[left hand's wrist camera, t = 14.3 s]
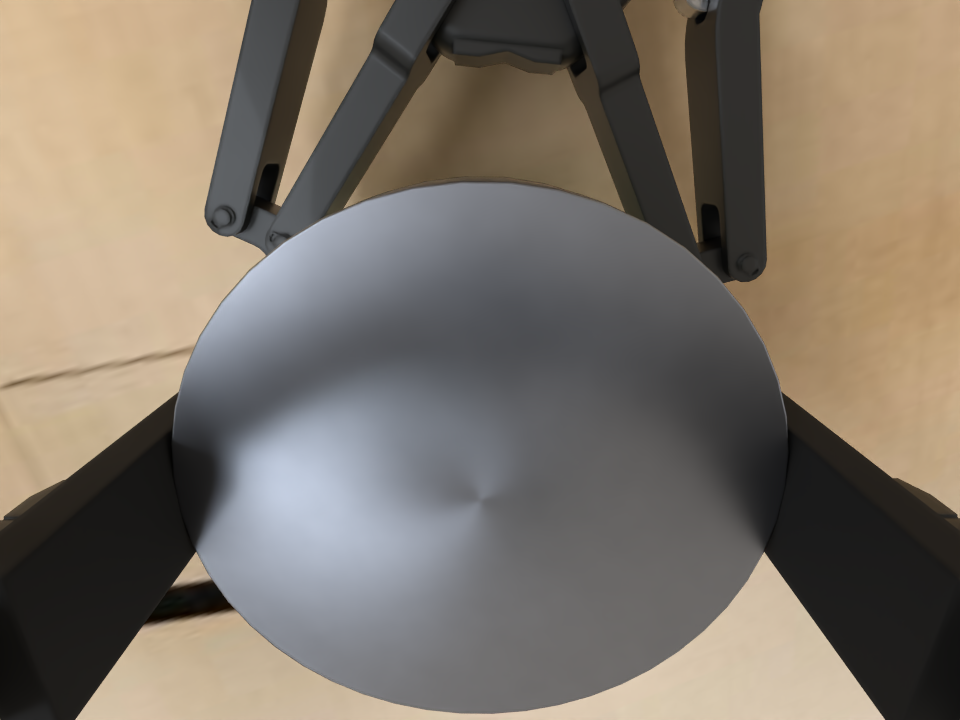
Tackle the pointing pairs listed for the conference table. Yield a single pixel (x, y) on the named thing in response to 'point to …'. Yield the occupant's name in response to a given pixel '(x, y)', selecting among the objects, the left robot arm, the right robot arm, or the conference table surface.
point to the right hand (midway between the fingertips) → (470, 442)
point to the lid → (480, 446)
